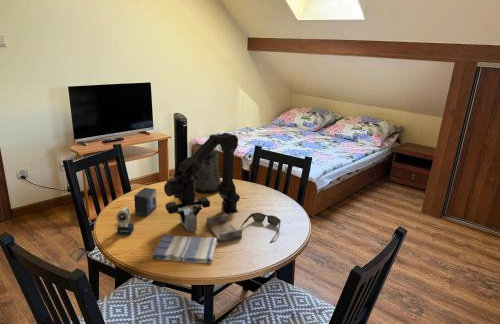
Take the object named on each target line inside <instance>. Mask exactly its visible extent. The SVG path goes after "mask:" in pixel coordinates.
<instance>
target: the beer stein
mask: <svg viewBox="0 0 500 324" xmlns="http://www.w3.org/2000/svg"><path fill="white" fill-rule="evenodd" d="M218 158H219V154H218V152H217V151H216V150H215V149H214V150H213V151H212V152H211V153H210V154H209V155H208V156H207V157H206V158H205V160H204V161H203V162H202V163H201V165H200V169H199V170H198V172H197V173H196V176H197V177H199V179H197V180H195V192H196V193H198V194H202V195H203V194H204V195H210V194H217V193H218V184H220V183H221V182H222V180H221V176H220V170H219V163H218V162H219V161H218Z"/></svg>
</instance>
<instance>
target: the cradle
mask: <svg viewBox="0 0 500 324" xmlns="http://www.w3.org/2000/svg"><path fill="white" fill-rule="evenodd" d="M206 227H207V228H208V229H209V230H210V232H211V233H212V234H213V235H214V237H215V238H217V242H218V241H219V243H220V244H221V243H225V242H230V241H234V240H239V239H242V237H243V229H241V228H238V229H237V228H235V227H234V226H233V224H231V222H230V221H229V214H226V213H225V214H219V215H215V216H209V217H206Z"/></svg>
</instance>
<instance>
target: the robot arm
mask: <svg viewBox="0 0 500 324" xmlns="http://www.w3.org/2000/svg"><path fill="white" fill-rule="evenodd" d="M218 145H220V146H219V147H220V148H221V150H222V154H223V155H222V157H223V158H222V180H221V183H220V184H218V192H217V193H218V195H219V197H220V198H221V199H222V202H221V210H222V211H223V212H224V213H225V214H227V215H229V214H234V213H238V212H239V210H238V209H237V203H238V202H239V201H240V199H241V196H240V195H239V194H238V193H237V191H236V190H237V189H236V188H237V187H236V185H235V183H234V179H233V178H234V160H235V159H234V156H235V154H234V153H235V151H236V150H237V148H238V145H239V138H238V136H237V135H235V134H232V133H228V132H222V134H221V133H217V134H210V135H209V137H208V139H206V140H205V142H204V143H203V144H202V145H201V146H200V147H199V148H198V150H196V152H194V154H193V155H191V156H189V157H186V158H185V159H184V160H182V161H181V162H180V163H179V164H178V167H177V169H176V171H175V173H174V175H173V179H167V180H166V182H165V184H164V186H163V190H164V193H165V195H166V196H167V197H172V196H173V199H175V200H176V199H178V201H179V202H180V203H176V201H170V202H167V203H166V204H165V210H166V211H167V213H168V214H170V215H171V214H177V215H180V216H181V219H182V222H183V223H184V222H185V217H184V211H183V208H188V207H189V208H190V207H192V210H191V211H192V212H193V214H194V215H195V216H196V217H197V216H198V214H199V212H201V211H202V210H203V208H204V209H205V208H210V207H211V201H210V200H209V198H208V197H206V196H201V197H197V200H196V193H195V192H196V191H195V180H197V179H199V177H197V176H196V173H197V172H198V170H199V169H200V165H201V163H202V162H203V161H204V160H205V158H206V157H207V156H208V155H209V154H210V153H211V152H212V151H213V150H214V151H215V149H216V148H217V147H218ZM182 222H181V223H182Z"/></svg>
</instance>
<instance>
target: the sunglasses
mask: <svg viewBox="0 0 500 324" xmlns="http://www.w3.org/2000/svg"><path fill="white" fill-rule="evenodd" d="M266 217H267V218H266ZM251 218H252V219H253V221H254V222H256V223H263V222H264V221H265V219H266V221H267V223H268V224H269V225H271V226H274V227H277V230H276V233H275V234H274V236H273V237H272V238H271V240H270V242H269V244H271V243H272V242H273V241H274V239H275V238H276V236H277V234H278V232H279V230H280V227H281V219H280V218H279V217H278V216H275V215H273V214H272V215H267V214H264V213H262V212H252V213H250V214H249V215H248V216H247V217H246V219H244V221H243V223H241V226H240V229H242V228H243V226H244V225H245V224H246V223H248V221H249V220H250V219H251ZM242 230H243V229H242Z"/></svg>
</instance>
